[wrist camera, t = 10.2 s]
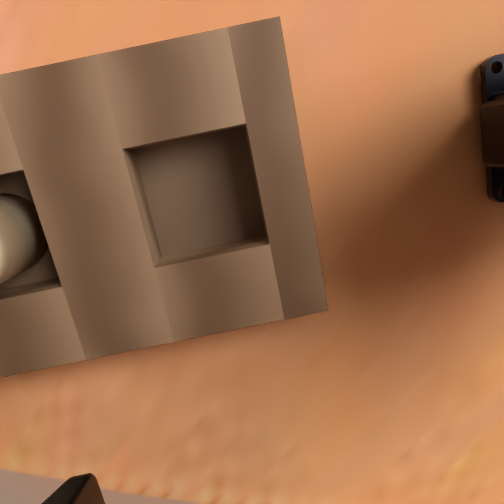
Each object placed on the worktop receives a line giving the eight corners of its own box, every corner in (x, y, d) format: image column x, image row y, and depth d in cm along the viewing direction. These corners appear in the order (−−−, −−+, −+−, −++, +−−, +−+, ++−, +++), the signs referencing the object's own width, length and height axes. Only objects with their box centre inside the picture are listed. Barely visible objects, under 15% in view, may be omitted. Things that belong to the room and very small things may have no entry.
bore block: (273, 34, 18) (279, 16, 16) (317, 291, 21) (328, 310, 19) (-133, 118, 18) (-190, 114, 16) (-33, 363, 21) (-68, 391, 19)
